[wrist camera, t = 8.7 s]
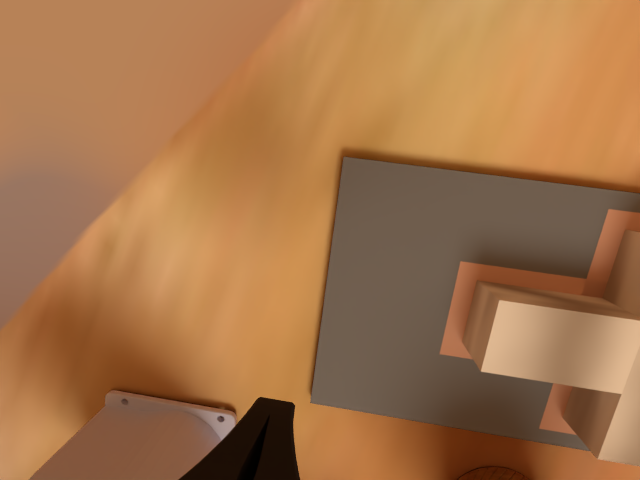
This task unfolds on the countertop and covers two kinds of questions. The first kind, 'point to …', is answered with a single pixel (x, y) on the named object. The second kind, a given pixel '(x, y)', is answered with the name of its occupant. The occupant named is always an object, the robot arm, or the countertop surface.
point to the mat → (453, 290)
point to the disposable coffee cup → (493, 474)
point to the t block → (571, 349)
